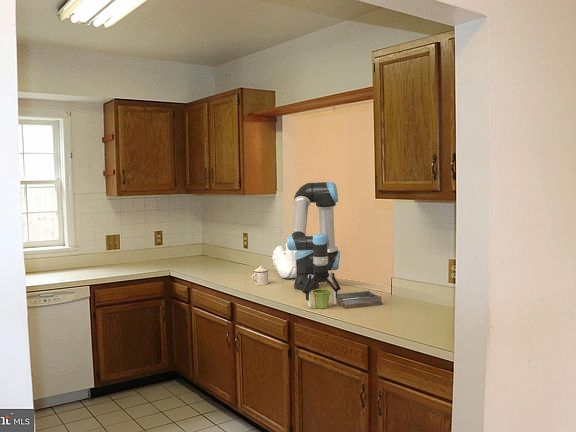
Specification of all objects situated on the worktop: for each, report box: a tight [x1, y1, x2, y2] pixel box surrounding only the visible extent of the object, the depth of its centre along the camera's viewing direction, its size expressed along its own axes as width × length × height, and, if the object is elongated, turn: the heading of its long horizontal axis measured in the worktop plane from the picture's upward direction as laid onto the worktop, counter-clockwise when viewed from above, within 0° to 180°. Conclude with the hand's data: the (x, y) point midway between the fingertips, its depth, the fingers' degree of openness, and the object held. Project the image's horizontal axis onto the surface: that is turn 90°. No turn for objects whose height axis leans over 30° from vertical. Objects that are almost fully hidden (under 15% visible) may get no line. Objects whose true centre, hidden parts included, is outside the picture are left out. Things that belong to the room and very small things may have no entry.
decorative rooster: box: [271, 242, 300, 279], centre depth 362 cm, size 25×16×25 cm, turn 32°
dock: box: [336, 290, 382, 310], centre depth 283 cm, size 14×20×4 cm
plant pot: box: [311, 288, 332, 310], centre depth 277 cm, size 9×9×9 cm
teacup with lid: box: [251, 265, 269, 286], centre depth 342 cm, size 12×9×12 cm
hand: (321, 305), depth 278 cm, fingers open, 13 cm apart
